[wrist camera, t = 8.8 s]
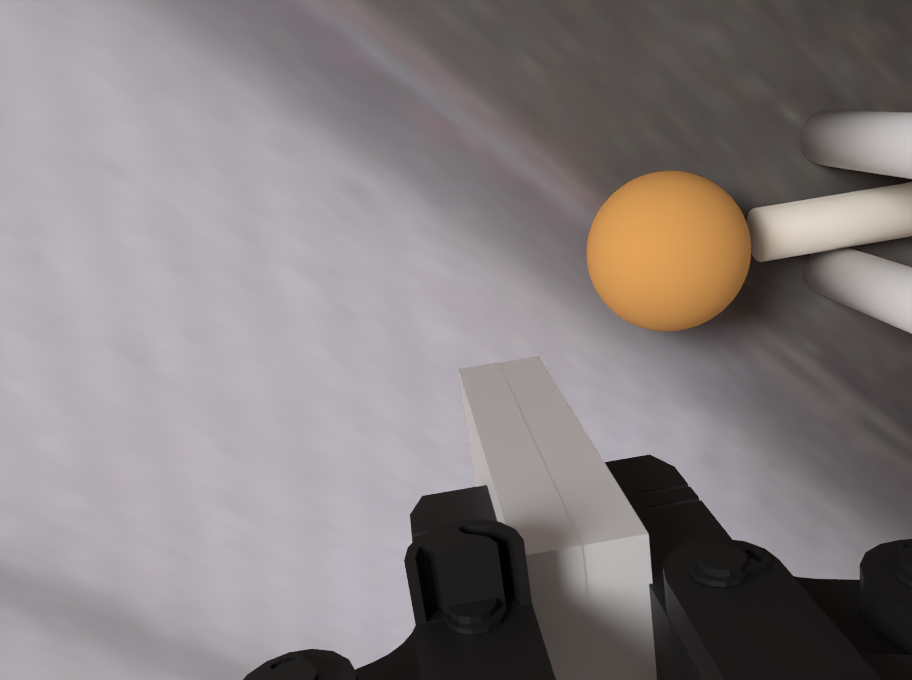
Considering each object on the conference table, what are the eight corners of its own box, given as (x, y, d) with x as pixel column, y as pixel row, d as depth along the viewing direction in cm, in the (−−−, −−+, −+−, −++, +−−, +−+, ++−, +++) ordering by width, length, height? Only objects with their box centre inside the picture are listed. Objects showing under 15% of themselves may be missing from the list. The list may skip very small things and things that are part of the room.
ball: (662, 191, 25) (548, 182, 30) (670, 366, 27) (561, 332, 31) (786, 160, 28) (664, 156, 32) (787, 322, 29) (670, 296, 34)
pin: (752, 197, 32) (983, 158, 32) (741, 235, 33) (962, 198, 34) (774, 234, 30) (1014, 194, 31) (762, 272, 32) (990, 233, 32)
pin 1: (851, 106, 32) (1035, 110, 23) (852, 161, 32) (1031, 185, 24) (800, 114, 32) (965, 121, 23) (801, 169, 32) (962, 196, 24)
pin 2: (852, 239, 33) (1025, 290, 25) (853, 289, 34) (1022, 356, 25) (803, 247, 33) (959, 301, 24) (804, 297, 34) (957, 367, 25)
